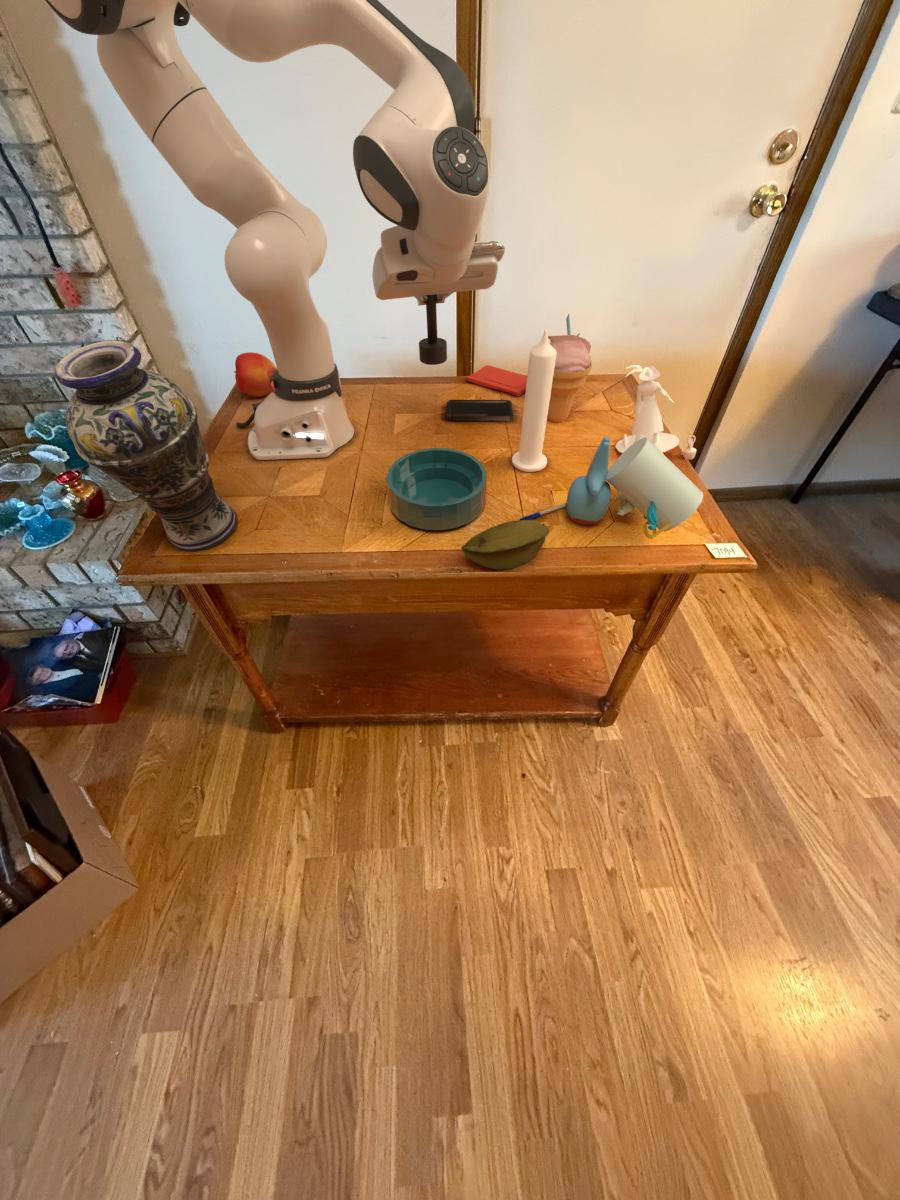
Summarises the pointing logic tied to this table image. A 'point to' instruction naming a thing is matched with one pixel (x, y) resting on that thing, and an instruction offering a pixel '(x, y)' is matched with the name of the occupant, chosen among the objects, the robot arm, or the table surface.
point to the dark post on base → (432, 338)
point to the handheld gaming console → (500, 380)
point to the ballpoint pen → (543, 512)
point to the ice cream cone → (567, 372)
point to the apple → (253, 374)
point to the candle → (536, 407)
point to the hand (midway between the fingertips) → (430, 300)
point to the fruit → (507, 544)
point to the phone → (479, 410)
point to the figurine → (651, 416)
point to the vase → (144, 440)
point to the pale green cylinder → (653, 488)
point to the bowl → (436, 488)
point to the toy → (591, 489)
